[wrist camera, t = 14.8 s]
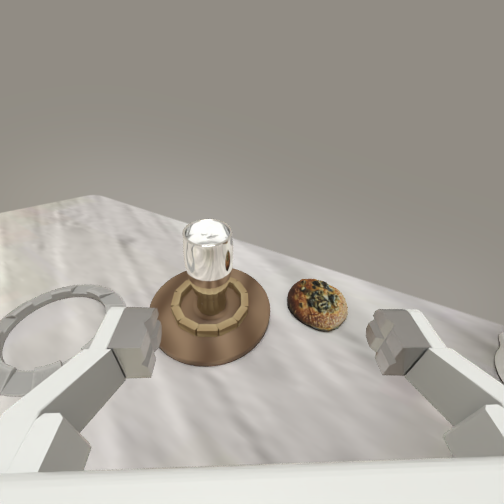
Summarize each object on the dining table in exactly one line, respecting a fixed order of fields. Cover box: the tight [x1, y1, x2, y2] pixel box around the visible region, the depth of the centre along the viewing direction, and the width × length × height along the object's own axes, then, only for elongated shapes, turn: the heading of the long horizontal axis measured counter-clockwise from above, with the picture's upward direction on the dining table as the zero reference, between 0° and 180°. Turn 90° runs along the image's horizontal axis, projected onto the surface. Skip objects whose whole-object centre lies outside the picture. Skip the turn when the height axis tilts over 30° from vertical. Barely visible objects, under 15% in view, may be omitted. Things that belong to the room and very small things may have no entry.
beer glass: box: [182, 219, 233, 320], centre depth 39 cm, size 7×7×15 cm
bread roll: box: [288, 279, 348, 331], centre depth 46 cm, size 11×11×5 cm
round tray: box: [150, 268, 270, 366], centre depth 44 cm, size 20×20×3 cm
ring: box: [0, 285, 126, 396], centre depth 40 cm, size 19×19×2 cm
